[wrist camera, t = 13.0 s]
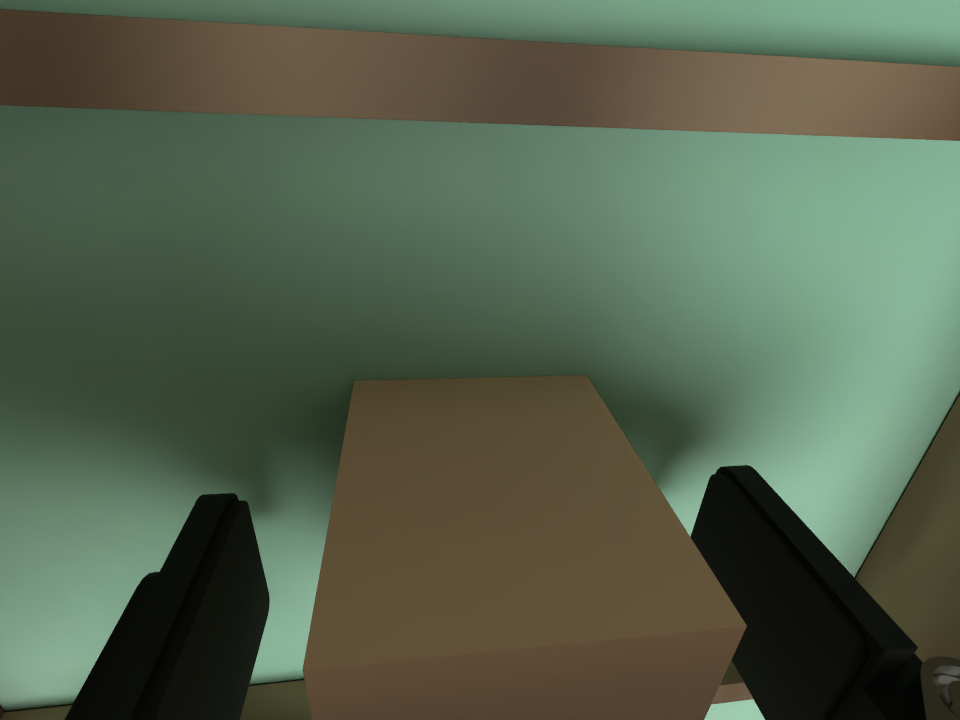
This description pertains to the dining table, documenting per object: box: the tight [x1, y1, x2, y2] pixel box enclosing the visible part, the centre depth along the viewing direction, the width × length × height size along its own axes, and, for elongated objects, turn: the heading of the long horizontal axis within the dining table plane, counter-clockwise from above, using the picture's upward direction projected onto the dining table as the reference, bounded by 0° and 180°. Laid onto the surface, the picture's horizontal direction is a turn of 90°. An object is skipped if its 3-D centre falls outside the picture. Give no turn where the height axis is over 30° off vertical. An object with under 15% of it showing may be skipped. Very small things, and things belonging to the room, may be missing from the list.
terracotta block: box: [303, 375, 747, 720], centre depth 9 cm, size 5×5×6 cm
